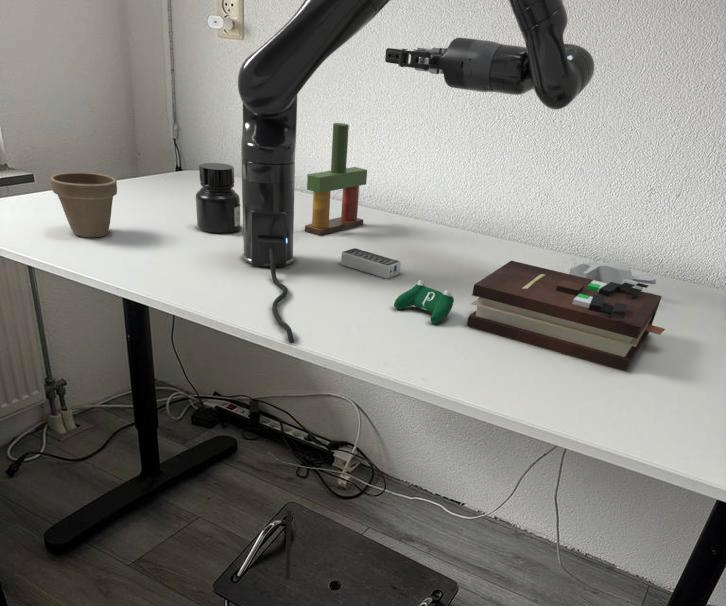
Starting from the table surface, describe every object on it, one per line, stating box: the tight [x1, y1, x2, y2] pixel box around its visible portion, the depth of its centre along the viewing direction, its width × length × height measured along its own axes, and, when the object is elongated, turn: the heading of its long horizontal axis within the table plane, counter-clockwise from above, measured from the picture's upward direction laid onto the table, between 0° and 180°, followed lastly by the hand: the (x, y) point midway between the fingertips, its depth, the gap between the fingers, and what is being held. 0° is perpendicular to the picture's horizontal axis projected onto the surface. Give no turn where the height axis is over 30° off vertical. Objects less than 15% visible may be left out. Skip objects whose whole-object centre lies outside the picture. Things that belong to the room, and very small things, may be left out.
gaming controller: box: [393, 279, 455, 325], centre depth 107 cm, size 9×4×6 cm
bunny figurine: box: [569, 260, 657, 291], centre depth 125 cm, size 10×5×15 cm
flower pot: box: [50, 172, 118, 238], centre depth 126 cm, size 12×11×10 cm
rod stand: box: [304, 186, 364, 237], centre depth 144 cm, size 15×4×8 cm, turn 143°
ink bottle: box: [195, 162, 242, 234], centre depth 136 cm, size 10×9×12 cm
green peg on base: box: [306, 122, 368, 193], centre depth 139 cm, size 16×4×12 cm, turn 143°
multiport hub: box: [340, 247, 401, 279], centre depth 124 cm, size 4×11×2 cm, turn 53°
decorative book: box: [466, 260, 666, 372], centre depth 105 cm, size 19×8×30 cm
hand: (399, 55), depth 122 cm, fingers open, 8 cm apart
